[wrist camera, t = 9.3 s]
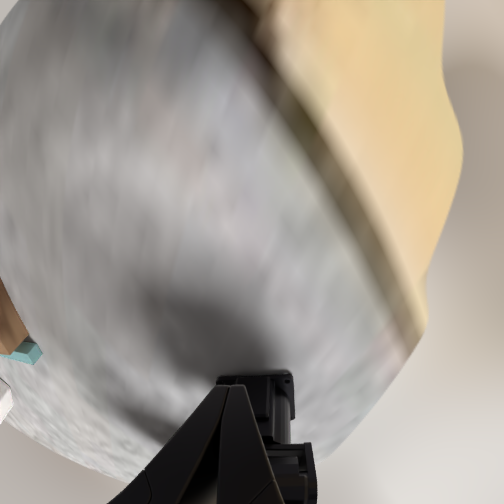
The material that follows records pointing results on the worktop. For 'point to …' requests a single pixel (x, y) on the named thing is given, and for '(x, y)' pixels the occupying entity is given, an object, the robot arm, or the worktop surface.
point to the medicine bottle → (5, 400)
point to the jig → (25, 353)
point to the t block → (9, 324)
